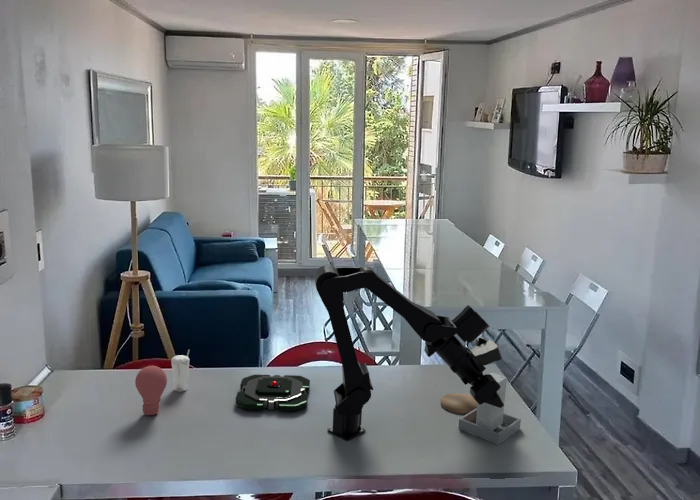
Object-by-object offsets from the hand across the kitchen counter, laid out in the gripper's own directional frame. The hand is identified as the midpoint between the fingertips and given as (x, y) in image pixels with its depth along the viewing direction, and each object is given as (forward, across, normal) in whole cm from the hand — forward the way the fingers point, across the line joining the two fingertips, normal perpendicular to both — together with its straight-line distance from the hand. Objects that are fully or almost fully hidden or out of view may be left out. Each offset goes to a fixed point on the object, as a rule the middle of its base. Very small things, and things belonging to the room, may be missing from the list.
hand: (497, 399), depth 148 cm
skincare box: (+4, 0, +6) cm, 7 cm away
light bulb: (-51, +10, +63) cm, 82 cm away
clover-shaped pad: (-30, +19, +43) cm, 56 cm away
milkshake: (-47, +24, +60) cm, 80 cm away
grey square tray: (+4, 0, +6) cm, 8 cm away
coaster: (+2, +12, +9) cm, 15 cm away
